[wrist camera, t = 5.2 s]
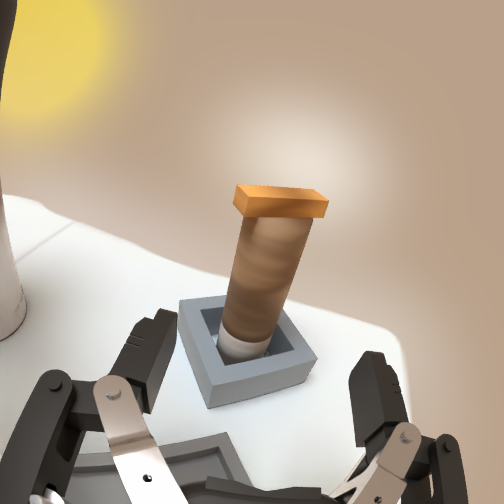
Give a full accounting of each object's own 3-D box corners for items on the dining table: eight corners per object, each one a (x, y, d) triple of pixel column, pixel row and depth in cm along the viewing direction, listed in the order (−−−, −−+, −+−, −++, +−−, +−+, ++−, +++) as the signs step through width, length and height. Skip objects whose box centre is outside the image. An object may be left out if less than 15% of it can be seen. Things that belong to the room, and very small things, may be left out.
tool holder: (207, 408, 23) (212, 385, 21) (177, 327, 30) (179, 300, 28) (303, 382, 28) (317, 358, 26) (261, 315, 35) (269, 289, 33)
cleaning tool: (216, 381, 26) (258, 206, 17) (200, 344, 29) (229, 177, 20) (276, 367, 29) (341, 209, 20) (256, 334, 32) (304, 182, 23)
